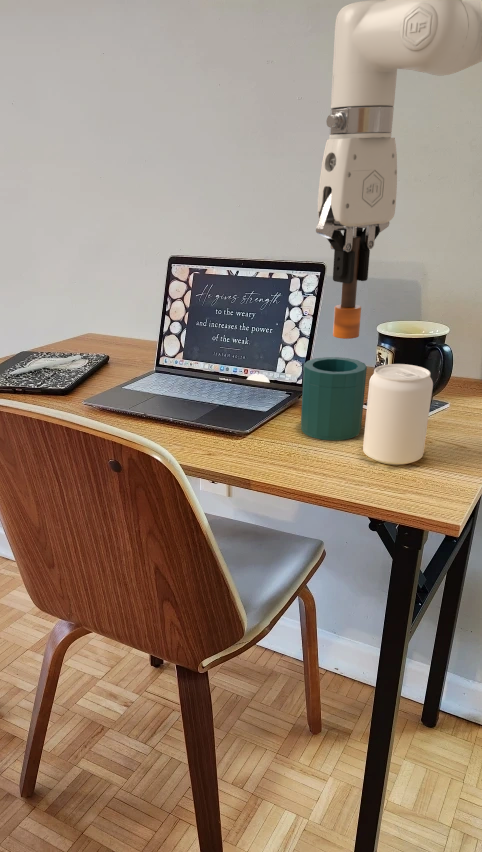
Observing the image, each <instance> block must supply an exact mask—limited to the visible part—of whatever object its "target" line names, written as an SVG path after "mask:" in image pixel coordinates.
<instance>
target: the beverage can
mask: <svg viewBox="0 0 482 852" xmlns="http://www.w3.org/2000/svg"><path fill="white" fill-rule="evenodd" d="M433 387H434V382H433V378H432V377H431V370H429V369H427V368H425V367H423V366H418V365H413V364H408V363H407V364H405V363H389V364H382V365H379V366H376V367H375V368H374V370H373V374H372V375H371V376H370V379H369V383H368V393H367V402H366V412H365V413H366V414H365V422H364V423H365V424H364V434H363V443H362V444H363V445H362V451H363V453H364V454H365V455H366V456H367V457H368V458H369V459H372V460H374V461H376V462H378V463H382V464H385V465H393V466H402V465H407V464H411V463H415V462H417V461H419V460H420V459H422V458H423V456H424V452H425V445H426V439H427V431H428V423H429V415H430V410H431V401H432V395H433Z"/></svg>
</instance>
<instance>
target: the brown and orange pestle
mask: <svg viewBox="0 0 482 852" xmlns="http://www.w3.org/2000/svg"><path fill="white" fill-rule="evenodd" d="M351 251H354V252H355V261H354V275H353V281H352V283H349V284H347V283H341V290H340V291H341V294H340V304H336V305H335V306H334V308H333V309H334V311H333V324H332V325H333V327H332V336H333V337H334V338H336V339H342V340H343V339H344V340H345V339H346V340H349V339H356V338H358V337H360V331H361V316H362V306H361V305H358V304H357V289H358V280H357V278H358V264H359V251H360V236H353V242H352V249H351Z"/></svg>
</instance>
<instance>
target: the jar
mask: <svg viewBox="0 0 482 852" xmlns="http://www.w3.org/2000/svg"><path fill="white" fill-rule="evenodd" d="M367 371H368V366H367V365H366V363H365V362H362V361H360V360H358V359H353V358H350V357H341V356H340V357H339V356H323V357H316V358H311V359H309V360H306V361H305V362H304V363H303V373H302V375H303V377H302V392H301V393H302V394H301V410H300V411H301V413H300V430H301V432H302V433H303V434H305V435H306V436H308V437H310V438H312V439H317V440H323V441H344V440H345V441H346V440H350V439H353V438H355V437H357V436H359V435H360V434H361V429H362V423H363V412H364V403H365V392H366V381H367Z"/></svg>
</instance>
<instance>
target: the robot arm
mask: <svg viewBox="0 0 482 852" xmlns="http://www.w3.org/2000/svg"><path fill="white" fill-rule="evenodd" d="M333 39H334V40H333V57H332V58H333V59H332V74H331V75H332V76H331V77H332V78H331V94H330V95H331V97H330V114H329V115H328V116H327V118H326V126H327V127H328V128H329V135H328V136H329V137H328V139H326V141H325V145H324V151H323V157H322V160H321V167H320V174H319V183H318V192H317V217H318V222H317V225H316V228H315V233H317V234H318V235H319V236H321V237H323V238H326V240H327V241H328V243H329V244H330V250H332V251H334V253H333V269H332V280H333V282H335V283H341V284H342V283H347V284H349V283H352V281H353V275H354V261H355V252H354V251H351V249H352V242H353V236H360V251H359V264H358V278H357V281H360V282H366V281H368V278H369V267H370V255H371V253H370V252H371V250H373V248H374V246H375V240H377V238H378V236H379V235H380V233H382V232H383V231H384V230H386V229H387V228H388V227H390V221H392V220H393V218H394V217H395V213H396V205H397V193H398V192H397V189H398V156H397V155H398V154H397V143H396V137H392V130H393V120H394V110H395V98H396V87H397V75H398V70H405V71H413V72H418V73H425V74H429V75H432V76H437V77H438V76H439V77H442V76H449V75H453V74H456V73H459V72H461V71H463V70H466V69H469V68H470V67H473V66H475V65H477V64H479V63H481V62H482V0H362V1H361V0H360V1H355V2H352V3H349V4H347V5H344V6H342V8H341V9H340V10H339V11H338V12H337V14H336V17H335V24H334V37H333ZM342 231H343V233H342Z"/></svg>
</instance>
